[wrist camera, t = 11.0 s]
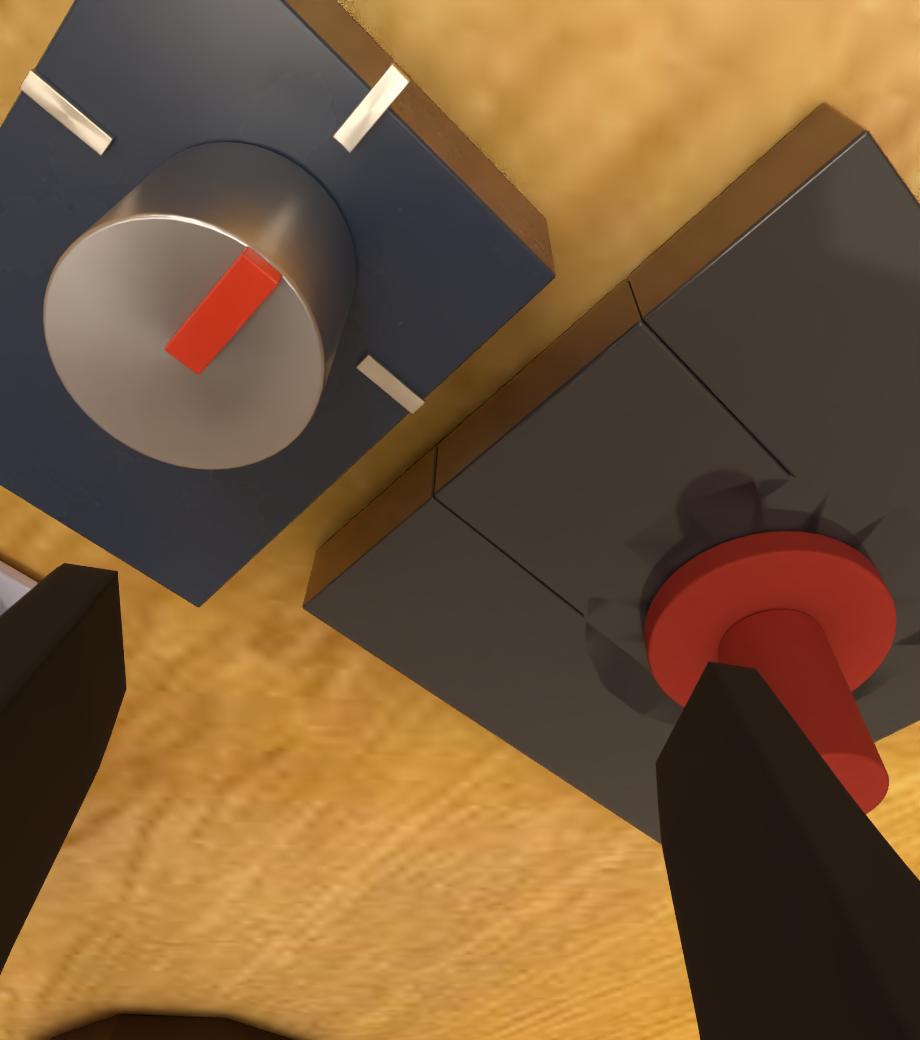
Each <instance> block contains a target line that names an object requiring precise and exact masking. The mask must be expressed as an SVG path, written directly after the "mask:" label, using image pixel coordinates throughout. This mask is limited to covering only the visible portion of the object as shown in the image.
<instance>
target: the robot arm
mask: <svg viewBox="0 0 920 1040" xmlns="http://www.w3.org/2000/svg"><path fill="white" fill-rule="evenodd" d="M125 691H126V676H125V663H124V650H123V636H122V623H121V610H120V597H119V583H118V571H112V570H106V569H99V568H93V567H86V566H80V565H73V564H66V563H64V564H62V565H61V566H59V567H58V568H56V569H55V570H53V571H52V572H51V573H50V574H49V575H48V576H46V577H45V578H44V579H43V580H42V581H40V582H39V583H38V582H36V581H35V580H33V579H31V578H29V577H28V576H26V575H24V574H22V573H21V572H19V571H17V570H16V569H14V568H12V567H10V566H9V565H7V564H5V563H4V562H2V561H0V974H1V972H2V970H3V968H4V965H5V963H6V961H7V958H8V956H9V954H10V952H11V949H12V947H13V945H14V943H15V941H16V939H17V937H18V935H19V933H20V931H21V929H22V927H23V925H24V923H25V920H26V918H27V916H28V914H29V912H30V910H31V908H32V906H33V904H34V902H35V900H36V898H37V896H38V894H39V892H40V890H41V888H42V885H43V883H44V881H45V879H46V877H47V875H48V873H49V871H50V869H51V867H52V865H53V863H54V861H55V859H56V857H57V855H58V853H59V851H60V849H61V846H62V844H63V842H64V840H65V838H66V836H67V834H68V832H69V830H70V828H71V826H72V824H73V822H74V820H75V817H76V815H77V813H78V811H79V809H80V807H81V805H82V803H83V801H84V799H85V797H86V795H87V792H88V790H89V788H90V786H91V784H92V782H93V780H94V778H95V776H96V773H97V771H98V769H99V767H100V764H101V761H102V758H103V756H104V753H105V750H106V747H107V744H108V742H109V739H110V736H111V733H112V730H113V727H114V724H115V721H116V718H117V715H118V712H119V709H120V706H121V703H122V700H123V697H124V694H125ZM656 780H657V796H658V811H659V822H660V833H661V843H662V848H663V854H664V859H665V864H666V869H667V875H668V880H669V885H670V890H671V895H672V900H673V905H674V910H675V915H676V920H677V925H678V930H679V934H680V939H681V944H682V949H683V954H684V959H685V964H686V969H687V974H688V979H689V983H690V988H691V993H692V998H693V1003H694V1008H695V1013H696V1018H697V1023H698V1028H699V1034H700V1040H920V881H919V879H918V878H917V877H916V876H915V875H914V874H913V872H912V871H911V870H910V869H909V868H908V867H907V865H906V864H905V863H904V862H903V861H902V859H901V858H900V857H899V856H898V854H897V853H896V852H895V851H894V849H893V848H892V847H891V846H890V845H889V843H888V842H887V841H886V840H885V838H884V837H883V836H882V835H881V833H880V832H879V831H878V830H877V828H876V827H875V826H874V825H873V823H872V822H871V821H870V819H869V818H868V817H867V816H866V814H865V813H864V812H863V811H862V809H861V808H860V807H859V805H858V804H857V803H856V801H855V800H854V799H853V798H852V796H851V795H850V794H849V792H848V791H847V790H846V789H845V787H844V786H843V785H842V783H841V782H840V781H839V779H838V778H837V777H836V775H835V774H834V773H833V771H832V770H831V769H830V767H829V766H828V765H827V763H826V762H825V761H824V759H823V758H822V757H821V755H820V754H819V753H818V751H817V750H816V749H815V747H814V746H813V745H812V743H811V742H810V741H809V739H808V738H807V736H806V735H805V734H804V732H803V731H802V730H801V728H800V727H799V726H798V724H797V723H796V722H795V720H794V719H793V718H792V716H791V715H790V713H789V712H788V711H787V709H786V708H785V707H784V705H783V704H782V703H781V701H780V700H779V699H778V697H777V696H776V695H775V693H774V692H773V691H772V689H771V688H770V687H769V685H768V684H767V683H766V681H765V680H764V679H763V678H762V676H761V675H760V674H759V672H758V671H757V670H756V669H755V668H749V667H743V666H736V665H730V664H723V663H716V662H710V661H708V663H707V665H706V667H705V669H704V671H703V673H702V675H701V677H700V679H699V681H698V682H697V684H696V686H695V688H694V690H693V692H692V694H691V696H690V698H689V700H688V702H687V703H686V705H685V707H684V709H683V711H682V713H681V715H680V717H679V719H678V721H677V723H676V724H675V726H674V728H673V730H672V732H671V734H670V736H669V738H668V740H667V742H666V743H665V745H664V747H663V749H662V751H661V753H660V755H659V757H658V759H657V761H656Z"/></svg>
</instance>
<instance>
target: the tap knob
mask: <svg viewBox="0 0 920 1040" xmlns="http://www.w3.org/2000/svg"><path fill="white" fill-rule="evenodd" d="M356 276H357V270H356V256H355V250H354V245H353V241H352V238H351V234H350V231H349V229H348V226H347V224H346V222H345V220H344V217H343V215H342V214H341V212H340V210H339V209H338V207H337V205H336V204H335V202H334V201H333V199H332V198H331V197H330V196H329V194H328V193H327V192H326V190H325V189H324V188H323V187H322V186H321V185H320V184H319V183H318V182H317V181H316V180H315V179H314V178H313V177H312V176H311V175H309V174H308V173H307V172H306V171H305V170H303V169H302V168H301V167H299V166H298V165H296V164H295V163H293V162H292V161H290V160H288V159H287V158H285V157H283V156H281V155H279V154H276V153H274V152H272V151H270V150H267V149H264V148H261V147H258V146H254V145H249V144H244V143H236V142H215V143H206V144H202V145H198V146H194V147H191V148H189V149H186V150H184V151H181V152H179V153H177V154H176V155H174V156H172V157H171V158H169V159H167V160H166V161H165V162H164V163H163V164H161V165H160V166H159V167H158V168H157V169H156V170H154V171H153V172H152V173H151V174H150V175H149V176H148V177H146V178H145V179H144V180H143V181H142V182H141V183H140V184H139V185H137V186H136V187H135V188H134V189H133V190H132V191H131V192H130V193H128V194H127V195H126V196H125V197H124V198H123V199H122V200H121V201H119V202H118V203H117V204H116V205H115V206H114V207H113V208H112V209H110V210H109V211H108V212H107V213H106V214H105V215H104V216H103V217H101V218H100V219H99V220H98V221H97V222H96V223H95V224H93V225H92V226H91V227H90V228H89V229H88V230H87V231H86V232H84V233H83V234H82V235H81V236H80V237H79V238H78V239H77V240H75V241H74V242H73V243H72V244H71V245H70V246H69V247H68V249H67V250H66V251H65V252H64V253H63V255H62V256H61V257H60V259H59V260H58V262H57V264H56V266H55V268H54V269H53V271H52V273H51V276H50V279H49V282H48V285H47V287H46V293H45V298H44V307H43V324H44V332H45V339H46V343H47V347H48V351H49V354H50V357H51V360H52V362H53V365H54V367H55V370H56V372H57V374H58V375H59V377H60V379H61V381H62V383H63V385H64V386H65V388H66V389H67V391H68V392H69V394H70V395H71V396H72V398H73V399H74V401H75V402H76V403H77V404H78V405H79V406H80V408H81V409H82V410H83V411H84V412H85V413H86V414H87V416H89V417H90V418H91V419H92V420H93V421H94V422H95V423H96V424H97V425H98V426H99V427H100V428H102V429H103V430H104V431H106V432H107V433H108V434H110V435H111V436H112V437H114V438H115V439H117V440H118V441H120V442H121V443H123V444H125V445H126V446H128V447H130V448H131V449H134V450H136V451H138V452H140V453H142V454H144V455H146V456H148V457H151V458H154V459H156V460H159V461H162V462H165V463H169V464H173V465H176V466H181V467H187V468H193V469H206V470H218V469H231V468H237V467H242V466H246V465H250V464H253V463H256V462H259V461H261V460H264V459H266V458H268V457H270V456H272V455H274V454H276V453H277V452H279V451H281V450H282V449H284V448H285V447H287V446H288V445H289V444H290V443H291V442H293V441H294V440H295V439H296V438H297V437H298V436H299V435H300V434H301V433H302V431H303V430H304V429H305V428H306V427H307V425H308V424H309V422H310V421H311V419H312V417H313V416H314V414H315V412H316V410H317V407H318V405H319V403H320V400H321V397H322V394H323V391H324V388H325V385H326V381H327V378H328V375H329V372H330V369H331V366H332V363H333V359H334V356H335V353H336V350H337V347H338V344H339V340H340V337H341V334H342V331H343V328H344V325H345V322H346V318H347V315H348V312H349V309H350V306H351V303H352V299H353V295H354V291H355V285H356Z"/></svg>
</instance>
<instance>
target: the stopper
mask: <svg viewBox="0 0 920 1040" xmlns="http://www.w3.org/2000/svg"><path fill="white" fill-rule="evenodd" d="M896 623H897V618H896V608H895V604H894V601H893V598H892V596H891V594H890V592H889V590H888V588H887V587H886V585H885V583H884V581H883V579H882V578H881V576H880V574H879V572H878V571H877V569H876V568H875V567H874V565H873V564H872V563H871V562H870V560H868V559H867V558H866V557H865V556H864V555H863V554H861V553H860V552H859V551H857V550H856V549H854V548H852V547H851V546H849V545H847V544H845V543H843V542H841V541H838V540H836V539H834V538H831V537H827V536H824V535H820V534H815V533H809V532H802V531H770V532H763V533H756V534H751V535H747V536H743V537H739V538H735V539H732V540H730V541H727V542H724V543H721V544H719V545H717V546H714V547H712V548H710V549H708V550H706V551H704V552H702V553H701V554H699V555H697V556H695V557H694V558H692V559H691V560H689V561H688V562H687V563H685V564H684V565H683V566H681V567H680V568H679V569H678V570H676V571H675V572H674V573H673V574H672V575H671V576H670V577H669V578H668V579H667V580H666V582H665V583H664V584H663V585H662V586H661V588H660V589H659V590H658V592H657V594H656V595H655V597H654V598H653V600H652V602H651V605H650V607H649V609H648V612H647V615H646V619H645V624H644V641H645V648H646V652H647V657H648V662H649V666H650V669H651V672H652V675H653V676H654V678H655V680H656V682H657V684H658V685H659V686H660V687H661V689H662V690H663V691H664V692H665V693H666V694H667V695H668V696H669V697H670V698H671V699H672V700H673V701H675V702H676V703H678V704H679V705H681V706H682V707H685V705H686V703H687V702H688V700H689V698H690V696H691V694H692V692H693V690H694V688H695V686H696V684H697V682H698V681H699V679H700V677H701V675H702V673H703V671H704V669H705V667H706V665H707V663H708V661H710V662H716V663H723V664H730V665H736V666H743V667H749V668H755V669H756V670H757V671H758V672H759V674H760V675H761V676H762V678H763V679H764V680H765V681H766V683H767V684H768V685H769V687H770V688H771V689H772V691H773V692H774V693H775V695H776V696H777V697H778V699H779V700H780V701H781V703H782V704H783V705H784V707H785V708H786V709H787V711H788V712H789V713H790V715H791V716H792V718H793V719H794V720H795V722H796V723H797V724H798V726H799V727H800V728H801V730H802V731H803V732H804V734H805V735H806V736H807V738H808V739H809V741H810V742H811V743H812V745H813V746H814V747H815V749H816V750H817V751H818V753H819V754H820V755H821V757H822V758H823V759H824V761H825V762H826V763H827V765H828V766H829V767H830V769H831V770H832V771H833V773H834V774H835V775H836V777H837V778H838V779H839V781H840V782H841V783H842V785H843V786H844V787H845V789H846V790H847V791H848V792H849V794H850V795H851V796H852V798H853V799H854V800H855V801H856V803H857V804H858V805H859V807H860V808H861V809H862V811H863V812H864V813H865V814H867V813H868V812H870V811H871V810H873V809H874V808H875V807H876V806H877V805H878V804H880V802H881V801H882V800H883V799H884V797H885V795H886V793H887V791H888V786H889V777H888V774H887V771H886V769H885V767H884V764H883V762H882V760H881V758H880V756H879V753H878V751H877V749H876V747H875V744H874V742H873V740H872V738H871V735H870V733H869V731H868V729H867V726H866V724H865V722H864V720H863V717H862V715H861V713H860V711H859V708H858V706H857V704H856V702H855V700H854V697H853V695H852V693H851V692H852V691H853V690H855V689H856V688H858V687H859V686H860V685H861V684H862V683H864V682H865V681H866V680H867V679H868V678H869V677H870V676H871V675H872V674H873V673H874V672H875V671H876V670H877V668H878V667H879V666H880V665H881V663H882V662H883V660H884V659H885V657H886V656H887V654H888V652H889V650H890V648H891V646H892V643H893V639H894V636H895V631H896Z"/></svg>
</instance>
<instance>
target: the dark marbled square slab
mask: <svg viewBox="0 0 920 1040" xmlns="http://www.w3.org/2000/svg"><path fill="white" fill-rule="evenodd" d="M628 278H629V280H627V279H625V280H623V281H622V282H621V283H620V284H619V285H618V286H617V287H616V288H614V289H613V290H612V291H611V292H610V293H609V294H608V295H606V296H605V297H604V298H603V299H602V300H601V301H600V302H599V303H597V304H596V305H595V306H594V307H593V308H592V309H591V310H589V311H588V312H587V313H586V314H585V315H584V316H583V317H582V318H580V319H579V320H578V321H577V322H576V323H575V324H574V325H572V326H571V327H570V328H569V329H568V330H567V331H566V332H565V333H563V334H562V335H561V336H560V337H559V338H558V339H557V340H556V341H554V342H553V343H552V344H551V345H550V346H549V347H548V348H546V349H545V350H544V351H543V352H542V353H541V354H540V355H539V356H537V357H536V358H535V359H534V360H533V361H532V362H531V363H529V364H528V365H527V366H526V367H525V368H524V369H523V370H522V371H520V372H519V373H518V374H517V375H516V376H515V377H514V378H512V379H511V380H510V381H509V382H508V383H507V384H506V385H505V386H503V387H502V388H501V389H500V390H499V391H498V392H497V393H496V394H494V395H493V396H492V397H491V398H490V399H489V400H488V401H486V402H485V403H484V404H483V405H482V406H481V407H480V408H479V409H477V410H476V411H475V412H474V413H473V414H472V415H471V416H469V417H468V418H467V419H466V420H465V421H464V422H463V423H462V424H460V425H459V426H458V427H457V428H456V429H455V430H454V431H452V432H451V433H450V434H449V435H448V436H447V437H446V438H445V439H443V440H442V441H441V442H440V443H439V445H438V446H437V445H436V446H435V447H433V448H432V449H431V450H430V451H429V452H428V453H427V454H426V455H424V456H423V457H422V458H421V459H420V460H419V461H418V462H416V463H415V464H414V465H413V466H412V467H411V468H410V469H409V470H407V471H406V472H405V473H404V474H403V475H402V476H401V477H400V478H398V479H397V480H396V481H395V482H394V483H393V484H392V485H390V486H389V487H388V488H387V489H386V490H385V491H384V492H383V493H381V494H380V495H379V496H378V497H377V498H376V499H375V500H373V501H372V502H371V503H370V504H369V505H368V506H367V507H366V508H364V509H363V510H362V511H361V512H360V513H359V514H358V515H357V516H355V517H354V518H353V519H352V520H351V521H350V522H349V523H347V524H346V525H345V526H344V527H343V528H342V529H341V530H340V531H338V532H337V533H336V534H335V535H334V536H333V537H332V538H330V539H329V540H328V541H327V542H326V543H325V544H324V545H323V546H321V547H320V548H319V549H318V550H317V551H316V555H315V559H314V563H313V567H312V571H311V575H310V579H309V582H308V586H307V590H306V594H305V598H304V602H303V606H302V607H303V609H304V610H306V611H308V612H309V613H311V614H312V615H314V616H315V617H317V618H318V619H320V620H321V621H323V622H324V623H326V624H327V625H329V626H330V627H332V628H333V629H335V630H336V631H338V632H339V633H341V634H342V635H344V636H346V637H347V638H349V639H350V640H352V641H353V642H355V643H356V644H358V645H359V646H361V647H362V648H364V649H365V650H367V651H368V652H370V653H371V654H373V655H374V656H376V657H377V658H379V659H380V660H382V661H383V662H385V663H387V664H388V665H390V666H391V667H393V668H394V669H396V670H397V671H399V672H400V673H402V674H403V675H405V676H406V677H408V678H409V679H411V680H412V681H414V682H415V683H417V684H418V685H420V686H421V687H423V688H425V689H426V690H428V691H429V692H431V693H432V694H434V695H435V696H437V697H438V698H440V699H441V700H443V701H444V702H446V703H447V704H449V705H450V706H452V707H453V708H455V709H456V710H458V711H459V712H461V713H462V714H464V715H466V716H467V717H469V718H470V719H472V720H473V721H475V722H476V723H478V724H479V725H481V726H482V727H484V728H485V729H487V730H488V731H490V732H491V733H493V734H494V735H496V736H497V737H499V738H500V739H502V740H503V741H505V742H507V743H508V744H510V745H511V746H513V747H514V748H516V749H517V750H519V751H520V752H522V753H523V754H525V755H526V756H528V757H529V758H531V759H532V760H534V761H535V762H537V763H538V764H540V765H541V766H543V767H545V768H546V769H548V770H549V771H551V772H552V773H554V774H555V775H557V776H558V777H560V778H561V779H563V780H564V781H566V782H567V783H569V784H570V785H572V786H573V787H575V788H576V789H578V790H579V791H581V792H582V793H584V794H586V795H587V796H589V797H590V798H592V799H593V800H595V801H596V802H598V803H599V804H601V805H602V806H604V807H605V808H607V809H608V810H610V811H611V812H613V813H614V814H616V815H617V816H619V817H620V818H622V819H624V820H625V821H627V822H628V823H630V824H631V825H633V826H634V827H636V828H637V829H639V830H640V831H642V832H643V833H645V834H646V835H648V836H649V837H651V838H652V839H654V840H655V841H657V842H658V843H660V844H661V845H662V843H661V833H660V822H659V811H658V796H657V780H656V761H657V759H658V757H659V755H660V753H661V751H662V749H663V747H664V745H665V743H666V742H667V740H668V738H669V736H670V734H671V732H672V730H673V728H674V726H675V724H676V723H677V721H678V719H679V717H680V715H681V713H682V711H683V709H684V707H682V706H681V705H679V704H678V703H676V702H675V701H673V700H672V699H671V698H670V697H669V696H668V695H667V694H666V693H665V692H664V691H663V690H662V689H661V687H660V686H659V685H658V684H657V682H656V680H655V678H654V676H653V675H652V672H651V669H650V666H649V662H648V657H647V652H646V648H645V641H644V624H645V619H646V615H647V612H648V609H649V607H650V605H651V602H652V600H653V598H654V597H655V595H656V594H657V592H658V590H659V589H660V588H661V586H662V585H663V584H664V583H665V582H666V580H667V579H668V578H669V577H670V576H671V575H672V574H673V573H674V572H675V571H676V570H678V569H679V568H680V567H681V566H683V565H684V564H685V563H687V562H688V561H689V560H691V559H692V558H694V557H695V556H697V555H699V554H701V553H702V552H704V551H706V550H708V549H710V548H712V547H714V546H717V545H719V544H721V543H724V542H727V541H730V540H732V539H735V538H739V537H743V536H747V535H751V534H756V533H763V532H770V531H802V532H809V533H815V534H820V535H824V536H827V537H831V538H834V539H836V540H838V541H841V542H843V543H845V544H847V545H849V546H851V547H852V548H854V549H856V550H857V551H859V552H860V553H861V554H863V555H864V556H865V557H866V558H867V559H868V560H870V562H871V563H872V564H873V565H874V567H875V568H876V569H877V571H878V572H879V574H880V576H881V578H882V579H883V581H884V583H885V585H886V587H887V588H888V590H889V592H890V594H891V596H892V598H893V601H894V604H895V608H896V618H897V623H896V631H895V636H894V639H893V643H892V646H891V648H890V650H889V652H888V654H887V656H886V657H885V659H884V660H883V662H882V663H881V665H880V666H879V667H878V668H877V670H876V671H875V672H874V673H873V674H872V675H871V676H870V677H869V678H868V679H867V680H866V681H865V682H864V683H862V684H861V685H860V686H859V687H858V688H856V689H855V690H853V691H852V692H851V693H852V695H853V697H854V700H855V702H856V704H857V706H858V708H859V711H860V713H861V715H862V717H863V720H864V722H865V724H866V726H867V729H868V731H869V733H870V735H871V738H872V740H873V742H874V743H875V742H877V741H879V740H881V739H883V738H885V737H887V736H889V735H891V734H893V733H895V732H897V731H899V730H901V729H903V728H905V727H907V726H909V725H911V724H913V723H915V722H917V721H920V203H919V201H918V200H917V199H916V197H915V196H914V194H913V193H912V191H911V190H910V189H909V187H908V186H907V184H906V183H905V181H904V180H903V179H902V177H901V176H900V174H899V173H898V171H897V170H896V169H895V167H894V166H893V164H892V163H891V161H890V160H889V159H888V157H887V156H886V154H885V153H884V151H883V150H882V149H881V147H880V146H879V144H878V143H877V141H876V140H875V139H874V137H873V136H872V134H871V133H870V131H869V130H867V129H866V128H864V127H863V126H861V125H860V124H858V123H857V122H855V121H854V120H852V119H851V118H849V117H848V116H846V115H845V114H843V113H842V112H840V111H839V110H837V109H836V108H834V107H833V106H831V105H830V104H828V103H823V104H822V105H821V106H820V107H819V108H818V109H816V110H815V111H814V112H813V113H812V114H811V115H810V116H808V117H807V118H806V119H805V120H804V121H803V122H802V123H801V124H799V125H798V126H797V127H796V128H795V129H794V130H793V131H791V132H790V133H789V134H788V135H787V136H786V137H785V138H784V139H782V140H781V141H780V142H779V143H778V144H777V145H776V146H775V147H773V148H772V149H771V150H770V151H769V152H768V153H767V154H765V155H764V156H763V157H762V158H761V159H760V160H759V161H758V162H756V163H755V164H754V165H753V166H752V167H751V168H750V169H748V170H747V171H746V172H745V173H744V174H743V175H742V176H741V177H739V178H738V179H737V180H736V181H735V182H734V183H733V184H731V185H730V186H729V187H728V188H727V189H726V190H725V191H724V192H722V193H721V194H720V195H719V196H718V197H717V198H716V199H715V200H713V201H712V202H711V203H710V204H709V205H708V206H707V207H705V208H704V209H703V210H702V211H701V212H700V213H699V214H698V215H696V216H695V217H694V218H693V219H692V220H691V221H690V222H688V223H687V224H686V225H685V226H684V227H683V228H682V229H681V230H679V231H678V232H677V233H676V234H675V235H674V236H673V237H672V238H670V239H669V240H668V241H667V242H666V243H665V244H664V245H662V246H661V247H660V248H659V249H658V250H657V251H656V252H655V253H653V254H652V255H651V256H650V257H649V258H648V259H647V260H645V261H644V262H643V263H642V264H641V265H640V266H639V267H638V268H636V269H635V270H634V271H633V272H632V273H631V274H630V275H629V276H628Z"/></svg>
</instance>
